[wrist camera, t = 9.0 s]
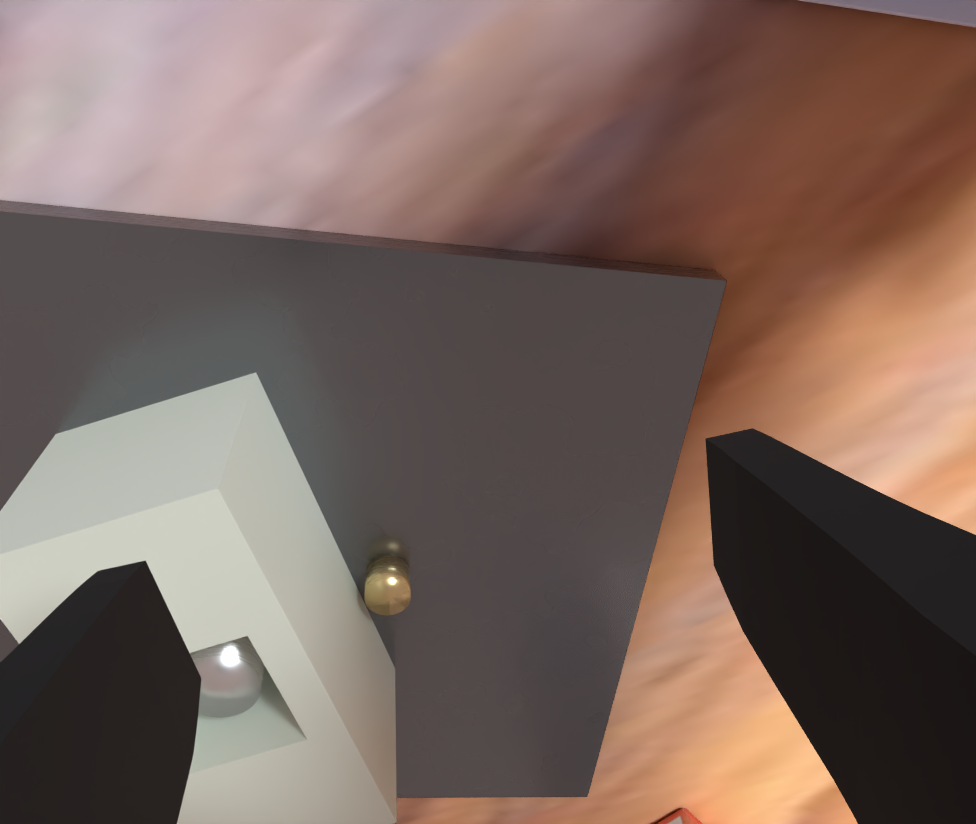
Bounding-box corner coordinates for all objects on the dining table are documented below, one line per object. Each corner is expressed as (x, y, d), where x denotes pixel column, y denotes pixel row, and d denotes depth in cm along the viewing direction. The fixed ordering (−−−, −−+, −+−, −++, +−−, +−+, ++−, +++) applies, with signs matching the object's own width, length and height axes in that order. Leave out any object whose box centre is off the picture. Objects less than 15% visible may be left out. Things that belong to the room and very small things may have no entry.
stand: (714, 270, 20) (804, 351, 16) (582, 776, 28) (617, 923, 24) (-303, 170, 17) (-543, 239, 13) (-126, 777, 25) (-235, 947, 21)
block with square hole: (395, 668, 24) (396, 822, 20) (232, 716, 24) (198, 879, 20) (255, 372, 20) (218, 488, 15) (55, 434, 20) (-40, 566, 15)
